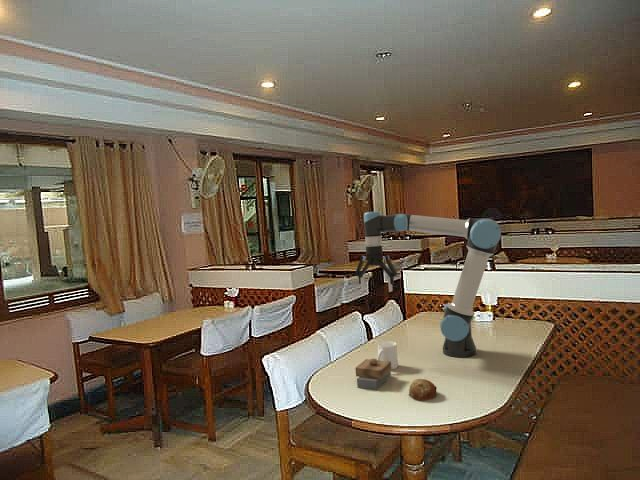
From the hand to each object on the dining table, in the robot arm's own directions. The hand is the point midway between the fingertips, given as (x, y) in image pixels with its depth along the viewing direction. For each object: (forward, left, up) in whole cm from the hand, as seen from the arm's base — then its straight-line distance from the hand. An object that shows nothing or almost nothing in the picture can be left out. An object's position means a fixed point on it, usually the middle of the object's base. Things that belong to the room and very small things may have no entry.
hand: (376, 291), depth 218 cm
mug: (-7, +12, -32) cm, 35 cm away
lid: (-8, +28, -28) cm, 40 cm away
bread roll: (-30, +35, -32) cm, 56 cm away
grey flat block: (-8, +28, -32) cm, 43 cm away
